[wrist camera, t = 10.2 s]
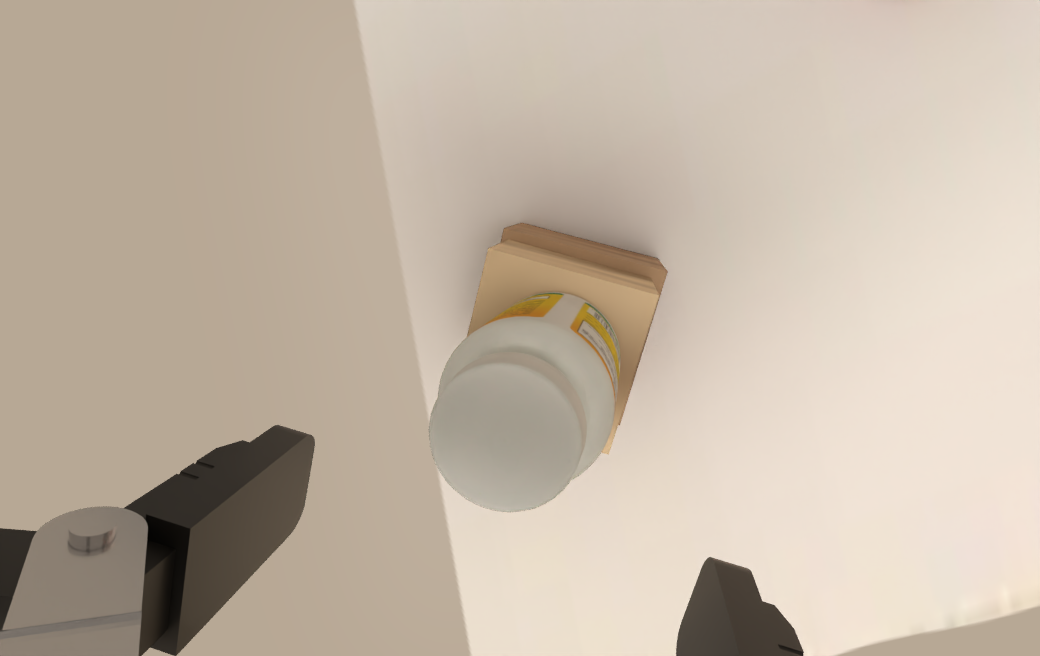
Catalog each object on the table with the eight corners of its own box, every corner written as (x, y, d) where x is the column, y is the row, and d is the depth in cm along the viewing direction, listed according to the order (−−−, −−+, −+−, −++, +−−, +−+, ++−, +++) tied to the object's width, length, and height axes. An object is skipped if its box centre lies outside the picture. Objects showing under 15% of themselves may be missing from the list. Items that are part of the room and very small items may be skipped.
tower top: (508, 239, 29) (488, 248, 24) (651, 278, 28) (659, 295, 23) (475, 373, 30) (450, 406, 26) (608, 412, 30) (608, 454, 25)
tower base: (521, 222, 34) (503, 228, 29) (657, 258, 34) (667, 271, 28) (490, 351, 36) (467, 381, 31) (618, 388, 36) (619, 425, 30)
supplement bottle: (641, 319, 23) (647, 388, 14) (590, 438, 25) (566, 572, 15) (514, 269, 24) (441, 303, 15) (471, 387, 25) (378, 488, 16)
